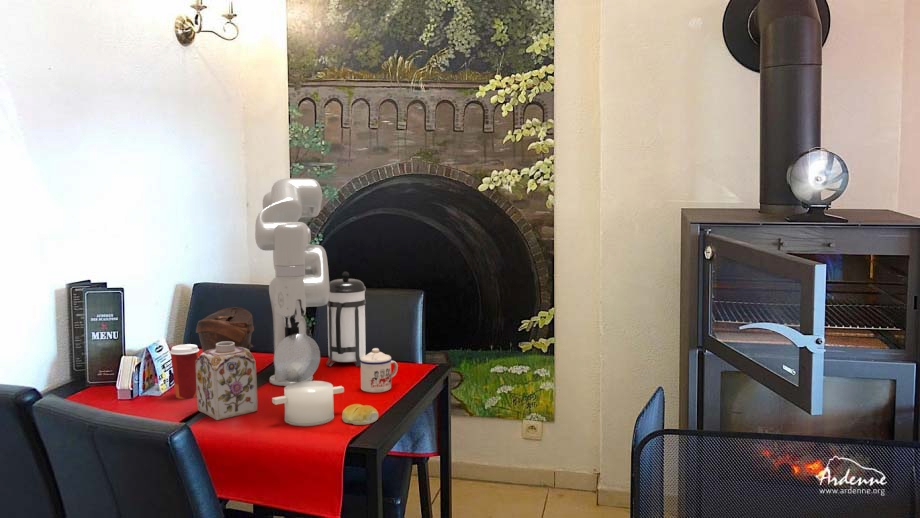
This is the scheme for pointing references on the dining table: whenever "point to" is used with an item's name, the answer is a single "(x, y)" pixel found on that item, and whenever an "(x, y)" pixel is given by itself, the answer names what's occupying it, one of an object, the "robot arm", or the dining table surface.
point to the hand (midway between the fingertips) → (292, 342)
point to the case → (226, 328)
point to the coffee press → (346, 321)
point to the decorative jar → (226, 381)
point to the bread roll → (359, 414)
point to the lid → (296, 357)
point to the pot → (308, 402)
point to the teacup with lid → (376, 371)
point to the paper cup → (184, 370)
